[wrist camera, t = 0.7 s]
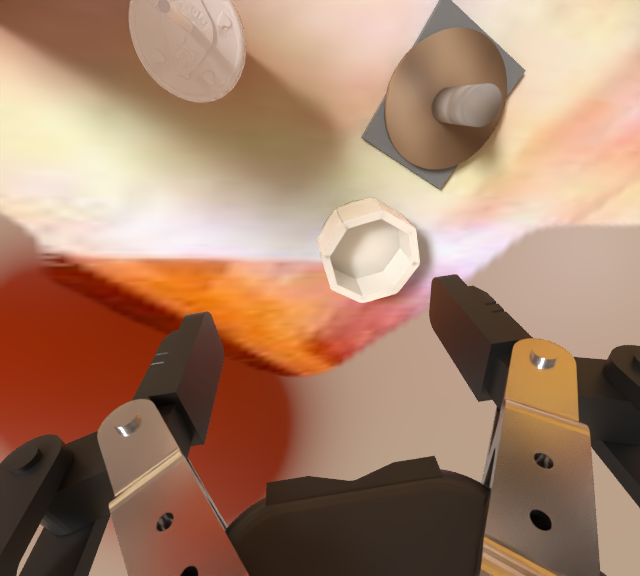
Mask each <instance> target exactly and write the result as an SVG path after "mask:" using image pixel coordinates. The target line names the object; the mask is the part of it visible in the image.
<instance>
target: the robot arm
mask: <svg viewBox="0 0 640 576" xmlns="http://www.w3.org/2000/svg"><path fill="white" fill-rule="evenodd" d="M429 316H430V322H431V325H432V328H433V330H434V331H435V333H436V335H437V336H438V338H439V339H440V341H441V342H442V344H443V346H444V347H445V349H446V350H447V352H448V354H449V355H450V357H451V358H452V360H453V362H454V363H455V365H456V366H457V368H458V369H459V371H460V373H461V374H462V376H463V378H464V379H465V381H466V382H467V384H468V386H469V387H470V389H471V390H472V392H473V394H474V395H475V397H476V398H477V400H478V401H479V402H480V401H486V400H493V401H494V402H495V404H496V405H497V407H496V411H495V416H494V421H493V427H492V432H491V437H490V443H489V448H488V453H487V459H486V464H485V468H484V473H483V477H482V481H481V483H480V482H478V481H476V480H473V479H472V478H469V477H467V476H464V475H461V474H459V473H456V472H451V471H447V470H441V469H440V468H439V466H438V463H437V461H436V458H435V456H431V457H424V458H419V459H412V460H406V461H400V462H394V463H391V464H389V465H387V466H385V467H383V468H381V469H379V470H376V471H374V472H372V473H370V474H368V475H366V476H364V477H361V478H359V479H357V480H354V481H345V480H337V479H328V478H320V477H311V476H306V477H300V478H294V479H288V480H281V481H275V482H269V483H267V489H266V498H263V499H261V500H260V501H258V502H256V503H255V504H253V505H251V506H250V507H249V508H247V509H246V510H245V511H244V512H242V513H241V514H240V515H239V516H238V517H237V518H236V519H235V520H234V521H233V522H232V523H231V524H230V525H229V526H228V527H227V525H226V523H225V522H224V520H223V518H222V517H221V515H220V513H219V512H218V510H217V508H216V506H215V505H214V503H213V501H212V500H211V498H210V496H209V494H208V492H207V491H206V489H205V487H204V486H203V484H202V482H201V480H200V479H199V477H198V475H197V473H196V471H195V470H194V468H193V466H192V465H191V463H190V461H189V459H188V458H187V457H188V454H189V450H190V446H195V445H202V444H204V443H205V438H206V434H207V430H208V426H209V421H210V417H211V413H212V409H213V404H214V400H215V395H216V392H217V387H218V382H219V378H220V374H221V370H222V366H223V362H224V349H223V345H222V342H221V339H220V337H219V334H218V331H217V329H216V326H215V324H214V321H213V318H212V316H211V314H210V313H209V312H202V313H195V314H189V315H186V316H185V317H184V319H183V321H182V323H181V326H180V328H179V330H177V331H172V332H171V333H170V334H169V335H168V336H167V337H166V338H165V339H164V340H163V341H162V342H161V344H160V346H159V348H158V350H157V352H156V356H155V357H154V358H153V360H152V362H151V366H149V368H148V370H147V372H146V374H145V376H144V378H143V380H142V382H141V384H140V386H139V388H138V390H137V392H136V394H135V396H134V398H133V400H132V401H130V402H128V403H126V404H123V405H122V406H120V407H118V408H117V409H115V410H114V411H113V412H112V413H111V414H110V415H108V416H107V418H106V419H105V420H104V421H103V423H102V424H101V426H100V428H99V430H98V431H97V432H94V433H92V434H89V435H87V436H85V437H82V438H80V439H77V440H75V441H72V442H70V443H68V444H65V443H64V442H63V441H62V440H61V439H60V438H59V437H58V436H56V435H43V436H40V437H37V438H34V439H32V440H30V441H28V442H26V443H25V444H23V445H21V446H20V447H18V448H17V449H16V450H14V451H13V452H12V453H11V454H10V455H8V456H7V457H6V458H5V459H4V460H3V461H2V462H1V463H0V576H16V574H17V569H18V565H19V562H20V561H21V558H22V557H23V555H24V553H25V551H26V549H27V547H28V545H29V543H30V541H31V539H32V538H33V536H34V534H35V532H36V530H37V528H38V526H39V524H41V525H42V526H44V528H43V530H42V532H41V534H40V536H39V538H38V540H37V542H36V544H35V546H34V547H33V549H32V551H31V553H30V555H29V557H28V559H27V561H26V563H25V565H24V567H23V569H22V571H21V573H20V575H19V576H88V575H89V572H90V569H91V566H92V564H93V561H94V558H95V556H96V553H97V550H98V547H99V544H100V542H101V539H102V536H103V533H104V531H105V528H106V525H107V523H108V520H109V517H110V515H111V517H112V520H113V524H114V527H115V531H116V535H117V538H118V542H119V545H120V548H121V552H122V556H123V559H124V563H125V566H126V570H127V573H128V576H606V575H605V574H604V573H602V572H601V571H600V563H599V548H598V535H597V521H596V508H595V495H594V480H593V468H592V453H591V447H592V448H593V450H594V451H595V452H596V453H597V455H598V456H599V457H600V458H601V460H602V461H603V462H604V463H605V465H606V466H607V467H608V468H609V470H610V471H611V472H612V473H613V475H614V476H615V477H616V479H617V480H618V481H619V482H620V484H621V485H622V486H623V487H624V489H625V490H626V491H627V492H628V494H629V495H630V496H631V497H632V499H633V500H634V501H635V502H636V504H637V505H638V506H639V508H640V346H635V345H634V346H633V345H623V346H619V347H616V348H614V349H613V350H612V352H611V354H610V355H609V357H608V359H607V360H602V359H590V358H579V357H573V356H572V355H571V354H570V353H569V352H568V351H567V350H566V349H564V348H563V347H561V346H559V345H557V344H555V343H553V342H550V341H547V340H542V339H535V338H532V337H531V336H530V335H529V334H528V333H527V332H526V331H525V330H524V329H523V328H522V327H521V326H520V325H519V324H518V323H517V322H516V321H515V320H514V319H513V318H512V317H511V316H510V315H509V314H508V313H507V312H504V309H503V308H502V307H501V306H500V305H499V304H496V301H495V300H494V299H493V298H492V297H490V296H489V294H488V293H486V292H484V291H482V290H480V289H479V288H476V287H474V286H467V285H466V284H465V283H464V282H463V281H462V279H461V278H460V277H459V276H458V275H455V274H454V275H448V276H441V277H435V278H433V280H432V285H431V298H430V310H429Z"/></svg>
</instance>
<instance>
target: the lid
mask: <svg viewBox="0 0 640 576" xmlns="http://www.w3.org/2000/svg"><path fill="white" fill-rule="evenodd" d="M506 92H507V75H506V68H505V65H504V61H503V58H502V56H501V54H500V52H499V50H498V49H497V47H496V45H495V44H494V43H493V42H492V41H491V40H490V39H489V38H488V37H487V36H485V35H484V34H482V33H480V32H478V31H476V30H473V29H470V28H463V27H457V28H449V29H445V30H442V31H439V32H437V33H434V34H432V35H430V36H428V37H426V38H425V39H423V40H421V41H420V42H419V43H418V44H416V45H415V46H414V47H413V48H412V49H411V50H410V51H409V52H408V53H407V54H406V55H405V56H404V58H403V59H402V60H401V61H400V63H399V65H398V66H397V68H396V69H395V71H394V73H393V75H392V77H391V80H390V83H389V85H388V89H387V92H386V97H385V104H384V121H385V127H386V132H387V134H388V137H389V140H390V142H391V144H392V146H393V147H394V149H395V150H396V151H397V152H398V154H399V155H400V156H401V157H403V158H404V159H405V160H406V161H408V162H410V163H412V164H414V165H416V166H419V167H421V168H426V169H444V168H448V167H452V166H454V165H457V164H459V163H461V162H463V161H465V160H466V159H468V158H469V157H471V156H472V155H473V154H474V153H475V152H477V151H478V150H479V149H480V148H481V147H482V146H483V145H484V143H485V142H486V141H487V140H488V138H489V137H490V135H491V134H492V132H493V131H494V129H495V127H496V125H497V123H498V121H499V119H500V117H501V114H502V111H503V108H504V104H505V99H506Z"/></svg>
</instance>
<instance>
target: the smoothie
mask: <svg viewBox="0 0 640 576" xmlns="http://www.w3.org/2000/svg"><path fill="white" fill-rule="evenodd" d="M129 29H130V35H131V39H132V42H133V46H134V48H135V51H136V53H137V55H138V57H139V59H140V61H141V63H142V65H143V66H144V68H145V69H146V71H147V72H148V73H149V75H150V76H151V77H152V78H153V79H154V80H155V81H156V82H157V83H158V84H159V85H160V86H161V87H162V88H164V89H165V90H167V91H168V92H170V93H171V94H173V95H175V96H177V97H180V98H182V99H184V100H188V101H192V102H197V103H202V102H212V101H215V100H217V99H220V98H222V97H224V96H225V95H226V94H227V93H229V92H230V91H231V90H232V89H233V88H234V86H235V85H236V83H237V82H238V80H239V79H240V77H241V74H242V71H243V68H244V65H245V57H246V41H245V34H244V28H243V25H242V23H241V20H240V17H239V14H238V11H237V10H236V8H235V6H234V5H233V3H232V1H231V0H130V5H129Z"/></svg>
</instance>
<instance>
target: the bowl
mask: <svg viewBox="0 0 640 576" xmlns="http://www.w3.org/2000/svg"><path fill="white" fill-rule="evenodd" d="M317 242H318V246H319V250H320V254H321V258H322V261H323V265H324V268H325V271H326V275H327V278H328V282H329V285H330V288H331V290H333V291H335V292H337V293H340V294H342V295H344V296H346V297H349V298H351V299H353V300H355V301H357V302H360V303H365V302H369V301H372V300H376V299H379V298H383V297H387V296H390V295H394V294H397V293H398V292H399V291H400V289H401V288H402V287H403V286H404V284H405V283H406V282H407V280H408V279H409V278H410V276H411V275H412V274H413V273H414V271H415V270H416V269H417V267H418V266H419V263H420V258H419V250H418V241H417V232H416V229H415V227H413V226H412V225H411V224H410V223H409V222H408V221H407V220H406V219H405V218H404V217H403V216H402V215H401V214H399V213H398V212H396V211H394V210H392V209H391V208H389V207H388V206H386V205H385V204H383V203H381V202H379V201H377V200H376V199H374V198H368V199H364V200H356V201H352V202H350V203H347V204H345V205H343V206H341V207H337V208H336V209H334V211H333V213H332V214H331V216H330V217H329V218H328V219H327V221H326V222H325V224H324V226H323V228H322V231H321V233H320V235H319V237H318V238H317ZM396 292H397V293H396Z"/></svg>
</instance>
